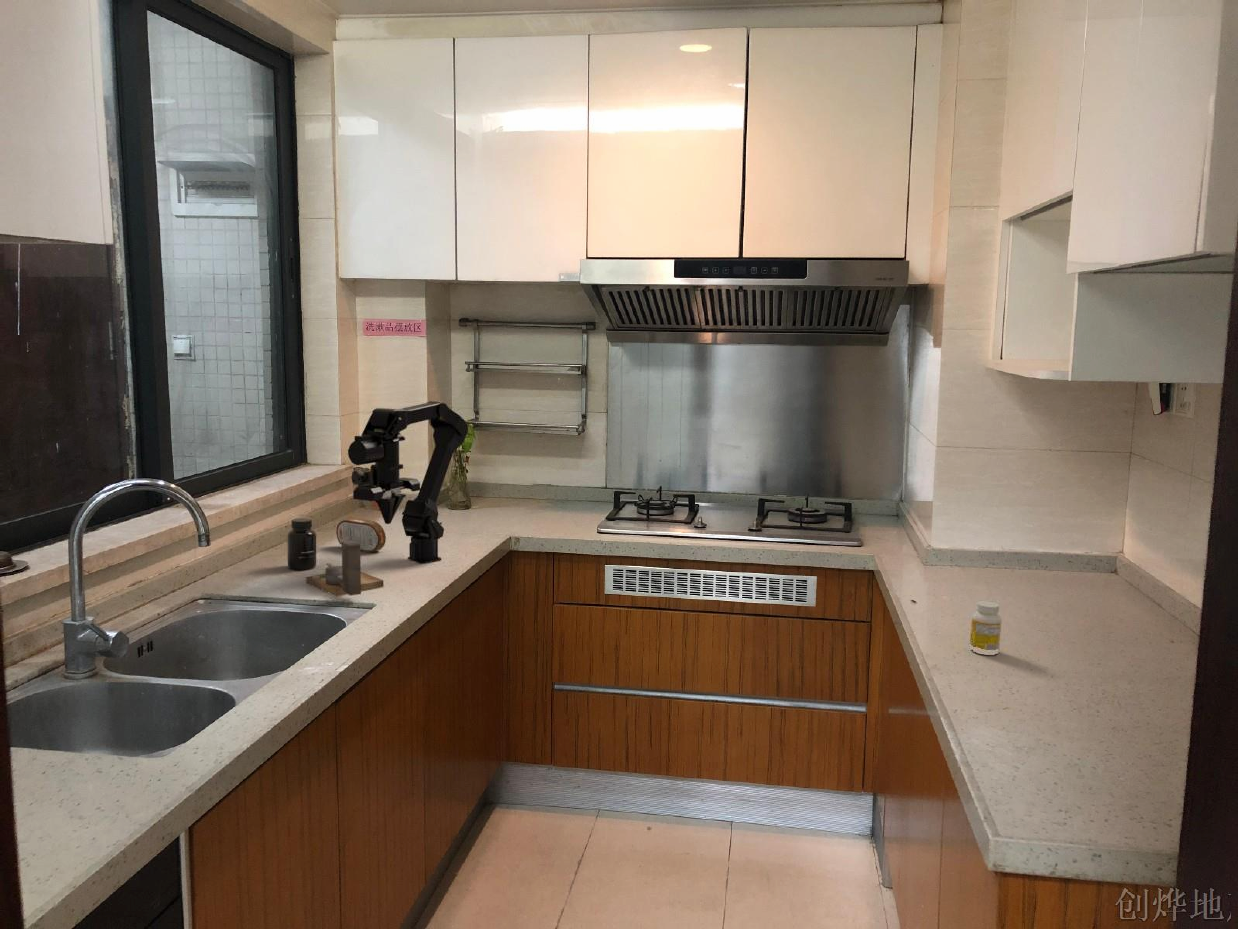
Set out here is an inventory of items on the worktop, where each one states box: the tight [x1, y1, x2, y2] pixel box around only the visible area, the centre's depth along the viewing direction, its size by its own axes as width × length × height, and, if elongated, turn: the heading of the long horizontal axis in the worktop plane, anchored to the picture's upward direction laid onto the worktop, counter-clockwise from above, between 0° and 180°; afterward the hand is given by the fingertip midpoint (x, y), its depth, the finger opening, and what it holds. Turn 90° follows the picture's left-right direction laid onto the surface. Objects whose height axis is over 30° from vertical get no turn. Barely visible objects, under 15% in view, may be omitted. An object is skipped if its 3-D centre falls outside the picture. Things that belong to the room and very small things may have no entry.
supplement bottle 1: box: [286, 517, 317, 571], centre depth 231 cm, size 7×7×12 cm
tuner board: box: [305, 571, 384, 597], centre depth 217 cm, size 12×14×2 cm
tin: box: [336, 517, 387, 553], centre depth 250 cm, size 15×3×8 cm, turn 65°
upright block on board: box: [324, 540, 362, 596], centre depth 210 cm, size 20×5×11 cm, turn 35°
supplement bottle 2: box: [969, 600, 1003, 650], centre depth 181 cm, size 5×5×10 cm
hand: (387, 523), depth 228 cm, fingers closed
